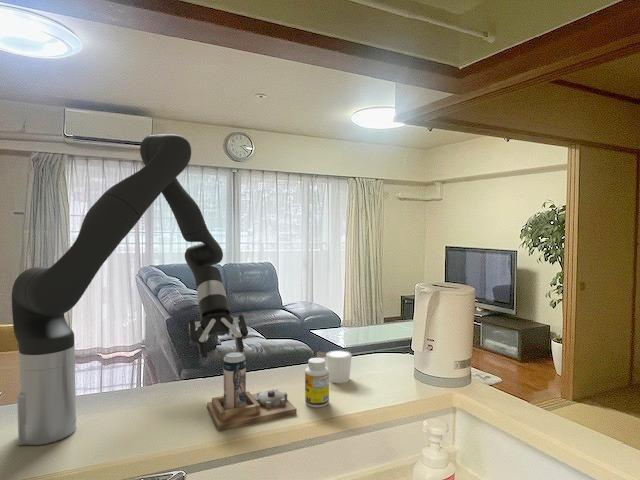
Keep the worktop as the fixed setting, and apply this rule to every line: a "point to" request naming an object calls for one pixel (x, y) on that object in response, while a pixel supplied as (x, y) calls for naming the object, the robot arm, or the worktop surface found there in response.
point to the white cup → (339, 366)
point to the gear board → (251, 409)
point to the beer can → (234, 380)
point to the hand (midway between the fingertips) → (223, 355)
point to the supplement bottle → (316, 383)
